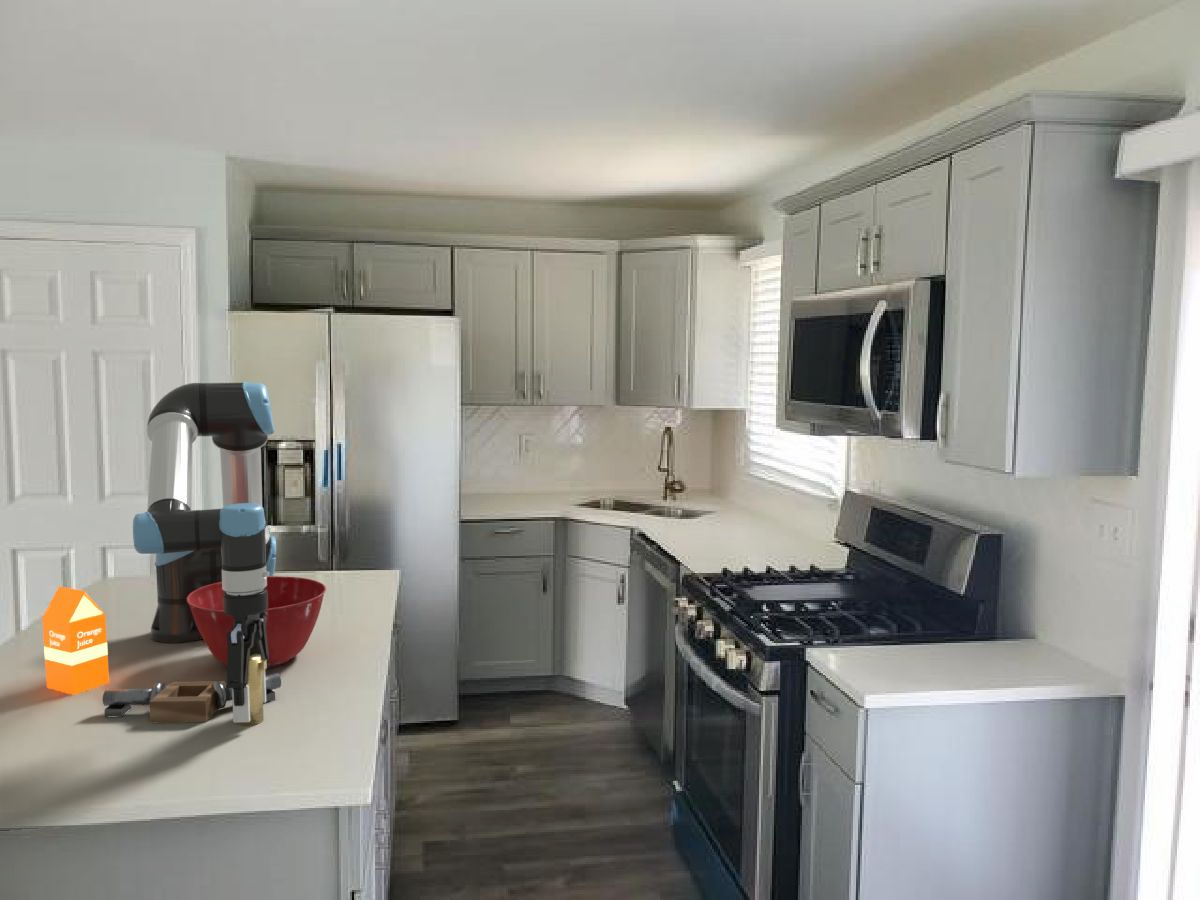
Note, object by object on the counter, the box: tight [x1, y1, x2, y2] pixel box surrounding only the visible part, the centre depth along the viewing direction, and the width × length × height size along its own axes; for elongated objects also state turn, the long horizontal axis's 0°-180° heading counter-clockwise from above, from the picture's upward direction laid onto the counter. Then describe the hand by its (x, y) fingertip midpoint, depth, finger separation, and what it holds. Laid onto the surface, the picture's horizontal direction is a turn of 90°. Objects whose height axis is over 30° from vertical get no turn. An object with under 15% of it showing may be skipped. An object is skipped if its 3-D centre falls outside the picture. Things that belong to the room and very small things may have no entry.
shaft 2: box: [211, 672, 282, 710], centre depth 175 cm, size 12×5×6 cm, turn 133°
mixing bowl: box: [187, 575, 327, 669], centre depth 199 cm, size 28×28×16 cm
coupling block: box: [148, 680, 226, 724], centre depth 171 cm, size 10×10×4 cm
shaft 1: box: [102, 682, 167, 718], centre depth 170 cm, size 10×5×6 cm, turn 93°
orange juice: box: [41, 586, 110, 696], centre depth 183 cm, size 8×9×20 cm
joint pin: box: [237, 653, 268, 727], centre depth 166 cm, size 4×6×12 cm
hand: (250, 711), depth 166 cm, fingers open, 8 cm apart
